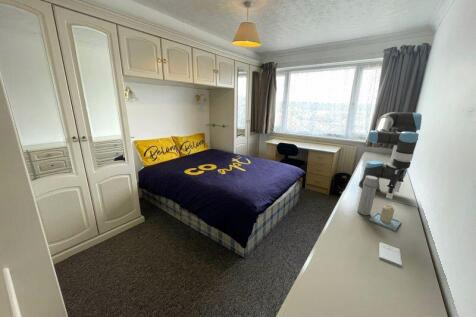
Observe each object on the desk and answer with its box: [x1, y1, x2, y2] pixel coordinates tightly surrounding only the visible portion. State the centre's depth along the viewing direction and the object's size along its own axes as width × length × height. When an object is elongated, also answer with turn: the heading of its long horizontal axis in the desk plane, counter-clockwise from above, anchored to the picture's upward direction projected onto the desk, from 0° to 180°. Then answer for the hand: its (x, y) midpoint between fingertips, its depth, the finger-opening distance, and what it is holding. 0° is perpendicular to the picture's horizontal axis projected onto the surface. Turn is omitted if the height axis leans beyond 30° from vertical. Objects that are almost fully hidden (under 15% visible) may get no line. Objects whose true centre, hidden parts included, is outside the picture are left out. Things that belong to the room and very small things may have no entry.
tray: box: [368, 211, 402, 232], centre depth 117 cm, size 13×13×1 cm
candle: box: [380, 204, 395, 223], centre depth 116 cm, size 6×6×10 cm
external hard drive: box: [378, 242, 403, 268], centre depth 91 cm, size 2×8×12 cm
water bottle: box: [357, 176, 378, 216], centre depth 122 cm, size 9×8×25 cm
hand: (392, 194), depth 113 cm, fingers open, 13 cm apart
